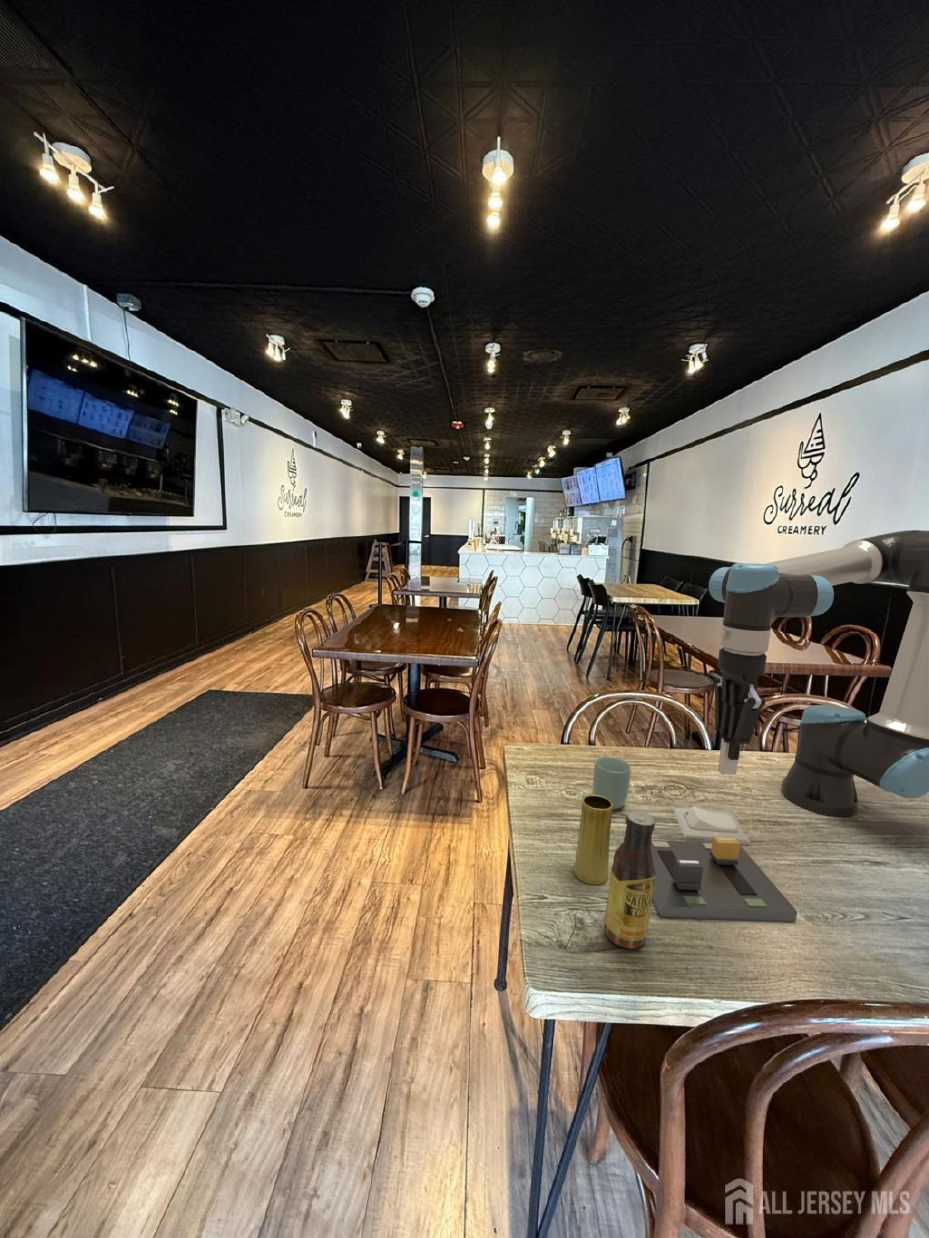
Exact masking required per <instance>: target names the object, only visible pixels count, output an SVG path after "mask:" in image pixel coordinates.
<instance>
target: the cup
mask: <svg viewBox="0 0 929 1238" xmlns="http://www.w3.org/2000/svg"><path fill="white" fill-rule="evenodd" d="M631 774H632V767H631V764H630V763H629V762H627V761H626V760H624V759H621V758H618V757H615V756H600V757H598V758H597V759H595V762H594V767H593V777H592V794H594V795H600V796H603V797H606V798H608V799H609V800H610V801H611V802H612V804H613V810H612V811H614V810H619V809H620V808H622V807H624V805H625V803H626V802H627V798H628V796H629V795H628V794H629V791H630V783H631Z"/></svg>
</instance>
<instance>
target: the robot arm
mask: <svg viewBox="0 0 929 1238" xmlns="http://www.w3.org/2000/svg"><path fill="white" fill-rule="evenodd" d="M850 582H851V583H854V584H857V585H858V584H859V585H861V584H868V583H886V584H887V583H888V584H895V585H903V586H908V588H907V590H906V594H907V596H908V597H909V598H910V600H912V602H913V603H912V605H911V606H912V607H911V610H910V612H909V615H908V619H907V623H906V625H905V628H904V629H905V630H904V632H903V635H902V639H901V641H900V645H899V648H898V651H897V654H896V657H895V661H894V664H893V667H892V670H891V674H890V676H889V679H888V684H887V686H886V690H885V692H884V696H883V699H882V701H881V706H880V709H879V712H877V713H874V714H873V715H870V716H868V717H867V718H866V714H865V713H864V712H863V711H861V710H859V709H855V708H849V707H845V706H839V705H830V704H827V705H826V704H815V705H809V706H807V707H806V708H805V709H804V710H803V712H802V716H801V720H800V721H799V731H798V735H797V736H798V737H797V744H796V749H795V750H796V751H795V756H794V762H793V763H792V765H791V766H790V768H789V771H788V772H787V774H786V775H785V777H784V778H783V779H782V781H781V786H780V787H781V788H780V790H781V793H782V795H783V796H784V797H785V798H786V799H787V800H788V801H790V802H792V803H793V804H795V805H797V806H800V807H801V808H804V809H806V810H809V811H812V812H814V813H818V814H822V815H826V816H831V817H839V818H841V817H842V818H844V817H845V818H846V817H851V816H855V815H856V814H857V812H858V809H859V807H858V806H859V799H858V794H857V787H856V783H855V779H854V776H856V777H858V778H860V779H862V780H864V781H866V782H869V783H871V784H873V785H875V786H877V787H878V788H880V789H882V790H883V791H884V792H890V793H892V794H895V795H897V796H899V797H901V798H905V799H916V798H920V797H923V796H925V795H927V794H928V793H929V530H918V529H917V530H916V529H910V530H908V529H907V530H901V531H895V532H893V531H892V532H887V533H883V534H878V535H874V536H870V537H865V538H861V539H855V540H852V541H850V542H847V543H846V544H845V545H843V547H840V548H836V549H830V550H826V551H819V552H816V553H810V554H806V555H800V556H796V557H790V558H785V559H781V560H777V561H776V560H775V561H772V562H766V563H755V562H754V563H751V562H737V563H734V564H733V565H731V566H730V567H729V566H728V567H726V566H724V567H720V568H718V569H716V570H715V571H714V572H713V573H712V574H711V576H710V578H709V582H708V590H709V591H708V592H709V595H710V596H711V598H713V599H714V600H716V601H718V602H720V603H724V610H723V620H722V629H721V632H720V637H721V638H720V643H719V644H720V646H721V647H722V648H720V649H719V651H718V657H717V668H718V669H719V670H720V671H721V676H719V677H713V679H712V682H713V687H714V727H715V730H716V731H719V736H720V737H721V739H720V751H719V757H718V758H719V759H718V764H717V765H718V767H717V772H718V773H720V774H721V775H728V776H730V775H735V776H736V775H737V770H738V763H739V759H740V753H741V746H742V745H744V744H745V745H747V744H748V745H749V744H750V743H751V741H752V737H753V734H754V731H755V729H756V726H757V723H758V720H759V717H760V713H761V710H762V709H763V707H764V706H765V705H766V703H767V702H766V699H765V697H760V696H759V695H758V693H757V690H758V682H757V681H758V678H759V677H761V676H763V675H764V674H765V671H766V665H767V664H766V663H767V657H768V656H767V655H766V654H765V653H766V652H768V651H769V645H770V638H771V637H770V636H771V629H772V623H773V618H780V617H781V618H783V617H784V618H789V617H790V618H794V617H802V618H807V617H815V616H820V615H822V614H824V613H825V612H828V610H829V609H830V608H831V606H832V605H833V601H834V596H835V592H834V588H833V586H836V585H841V584H846V583H850Z"/></svg>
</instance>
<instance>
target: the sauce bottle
mask: <svg viewBox="0 0 929 1238" xmlns="http://www.w3.org/2000/svg"><path fill="white" fill-rule="evenodd" d="M625 825H626V826H625V827H626V828H625V835H624V838H623V842H622V843H621V844H620V845H619V846H618V847H617V848H616V850H615V852H614V856H613V862H612V867H611V872H610V877H609V879H610V880H609V887H608V892H607V901H606V909H605V916H604V922H605V923H604V931H605V934H606V936H607V938H608V939H609V940H610V941H611V942H612V943H613V944H614V945H616V946H618V947H621V948H624V949H629V950H631V949H638V948H640V947H641V946H642V945H643V944H644V942H645V940H646V937H647V933H648V928H649V922H650V915H651V906H652V903H653V901H652V895H653V889H654V881H655V875H656V874H655V869H654V864H653V859H652V854H651V840H652V836H653V832H654V830H655V827H656V820H655V818H654V817H653V815H652V816H651V815H650V814H648V813H647V812H643V811H639V810H631V811H628V812H627V813H626V817H625Z"/></svg>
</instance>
